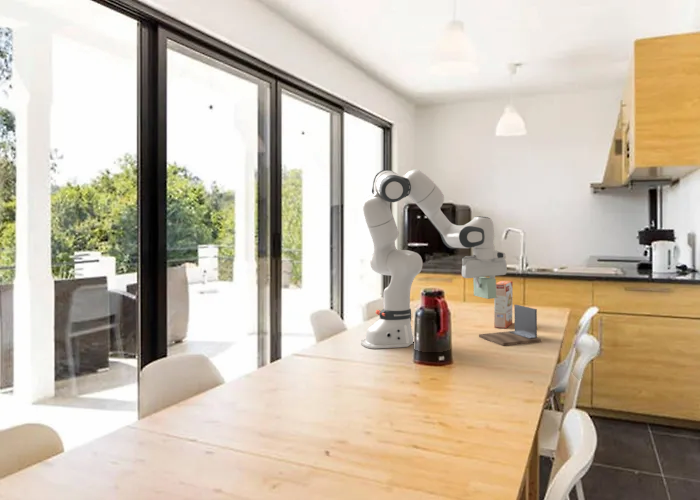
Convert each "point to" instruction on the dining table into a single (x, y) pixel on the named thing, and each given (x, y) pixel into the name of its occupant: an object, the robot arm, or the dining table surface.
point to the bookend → (525, 322)
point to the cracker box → (503, 304)
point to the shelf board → (507, 338)
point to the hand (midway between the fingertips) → (484, 287)
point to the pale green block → (485, 288)
